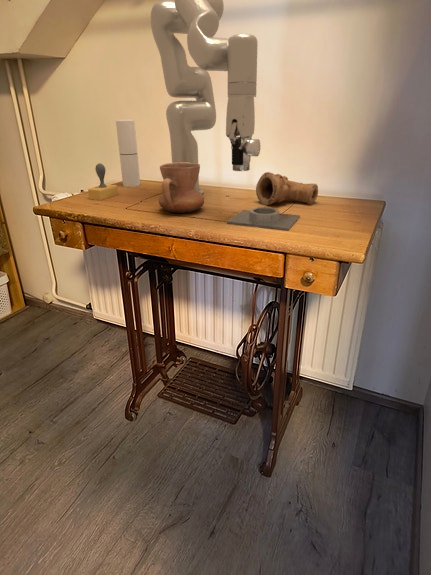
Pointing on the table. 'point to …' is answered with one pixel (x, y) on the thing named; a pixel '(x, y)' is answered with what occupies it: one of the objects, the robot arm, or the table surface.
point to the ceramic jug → (180, 187)
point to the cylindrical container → (128, 152)
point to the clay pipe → (284, 190)
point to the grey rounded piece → (248, 153)
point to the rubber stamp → (102, 186)
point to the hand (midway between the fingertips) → (241, 162)
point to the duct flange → (264, 218)
